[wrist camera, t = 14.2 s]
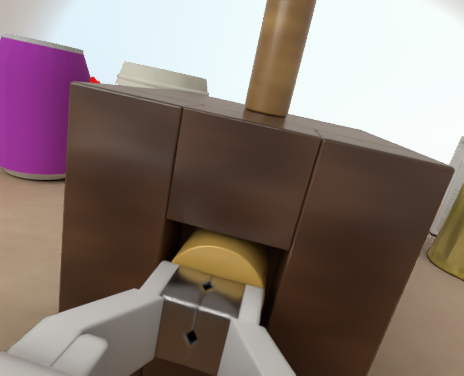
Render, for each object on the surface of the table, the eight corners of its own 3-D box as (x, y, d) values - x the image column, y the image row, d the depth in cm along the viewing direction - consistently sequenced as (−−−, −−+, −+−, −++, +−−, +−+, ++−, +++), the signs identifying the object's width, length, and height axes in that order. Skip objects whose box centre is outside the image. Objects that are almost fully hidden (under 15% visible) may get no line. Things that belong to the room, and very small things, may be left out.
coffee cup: (204, 194, 35) (225, 83, 32) (164, 217, 27) (187, 74, 24) (139, 173, 37) (152, 68, 34) (85, 190, 30) (94, 54, 26)
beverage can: (-28, 166, 29) (-34, 24, 25) (41, 154, 36) (44, 42, 33) (42, 188, 27) (46, 41, 24) (99, 172, 35) (109, 56, 31)
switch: (157, 320, 10) (171, 234, 9) (181, 278, 12) (194, 206, 11) (250, 348, 9) (275, 261, 9) (258, 300, 12) (277, 228, 11)
